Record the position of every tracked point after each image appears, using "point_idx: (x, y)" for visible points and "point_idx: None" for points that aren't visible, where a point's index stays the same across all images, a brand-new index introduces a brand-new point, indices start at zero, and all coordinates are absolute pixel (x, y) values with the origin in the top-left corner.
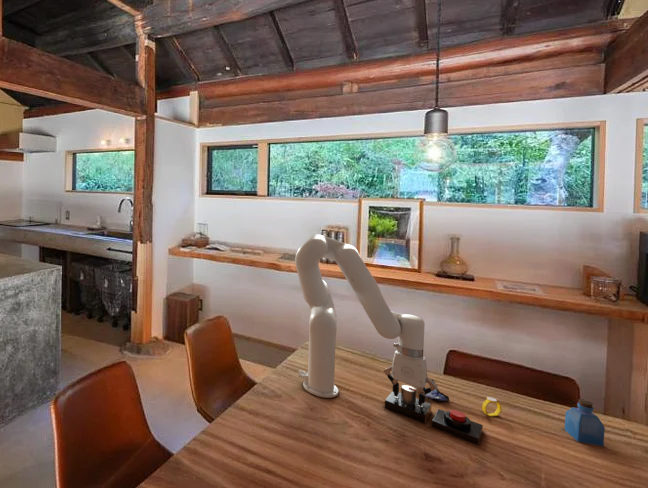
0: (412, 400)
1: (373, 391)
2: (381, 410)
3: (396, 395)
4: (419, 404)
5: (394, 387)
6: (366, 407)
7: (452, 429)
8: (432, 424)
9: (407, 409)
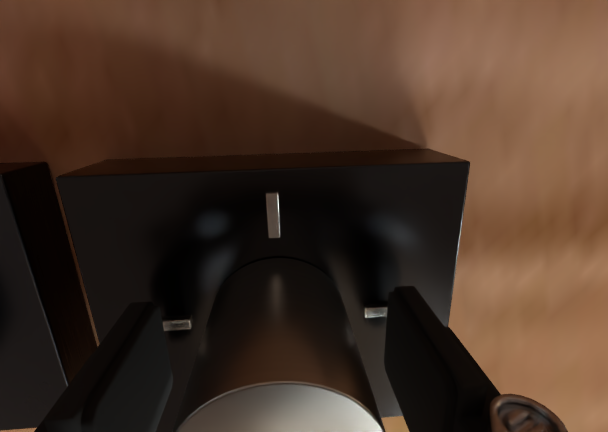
0: (216, 311)
1: (538, 337)
2: (445, 81)
3: (393, 297)
4: (142, 305)
5: (468, 359)
6: (570, 14)
7: None
8: (25, 165)
9: (239, 168)
